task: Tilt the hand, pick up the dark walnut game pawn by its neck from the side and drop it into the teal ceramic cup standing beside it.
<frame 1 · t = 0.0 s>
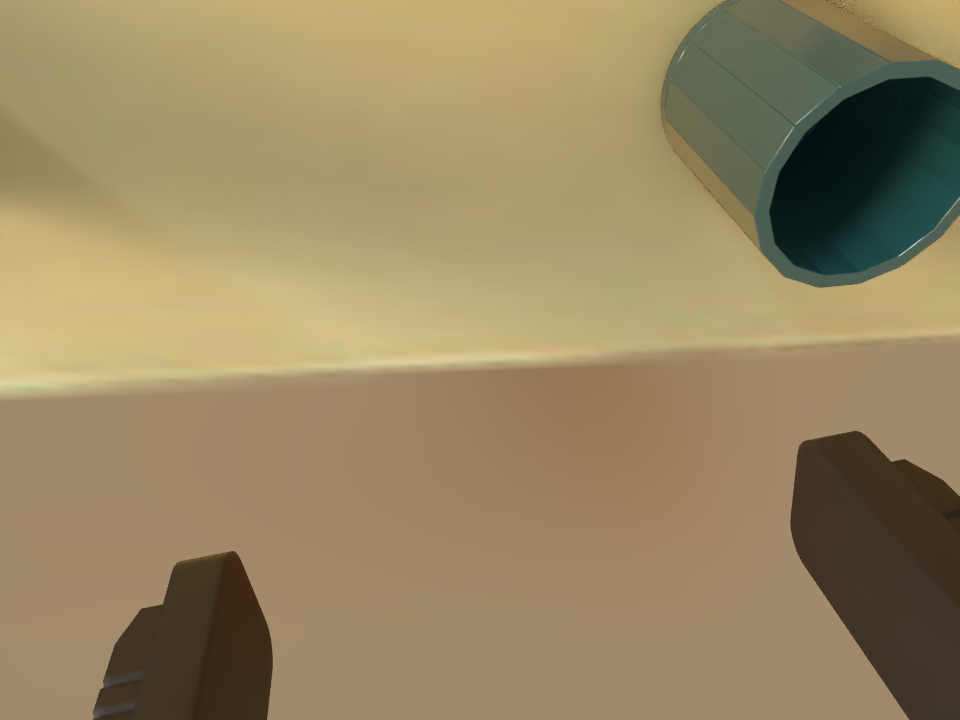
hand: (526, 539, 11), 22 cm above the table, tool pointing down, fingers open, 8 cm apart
cup: (751, 87, 31), on the table
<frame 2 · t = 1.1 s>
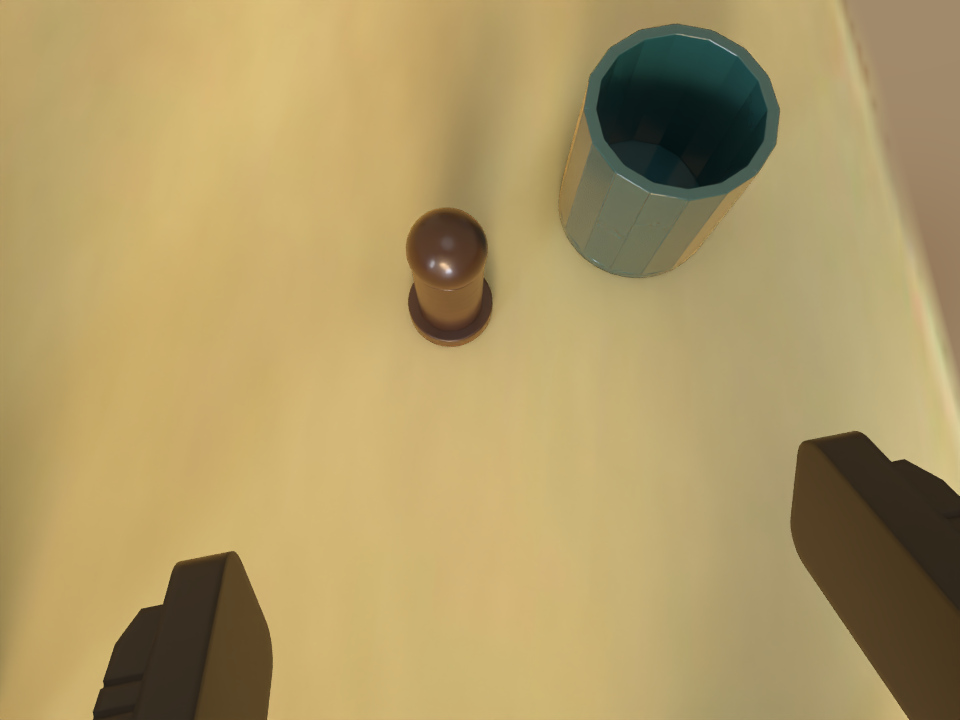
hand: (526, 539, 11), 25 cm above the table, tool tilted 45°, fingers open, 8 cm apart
game pawn: (450, 307, 37), on the table
cup: (633, 206, 39), on the table
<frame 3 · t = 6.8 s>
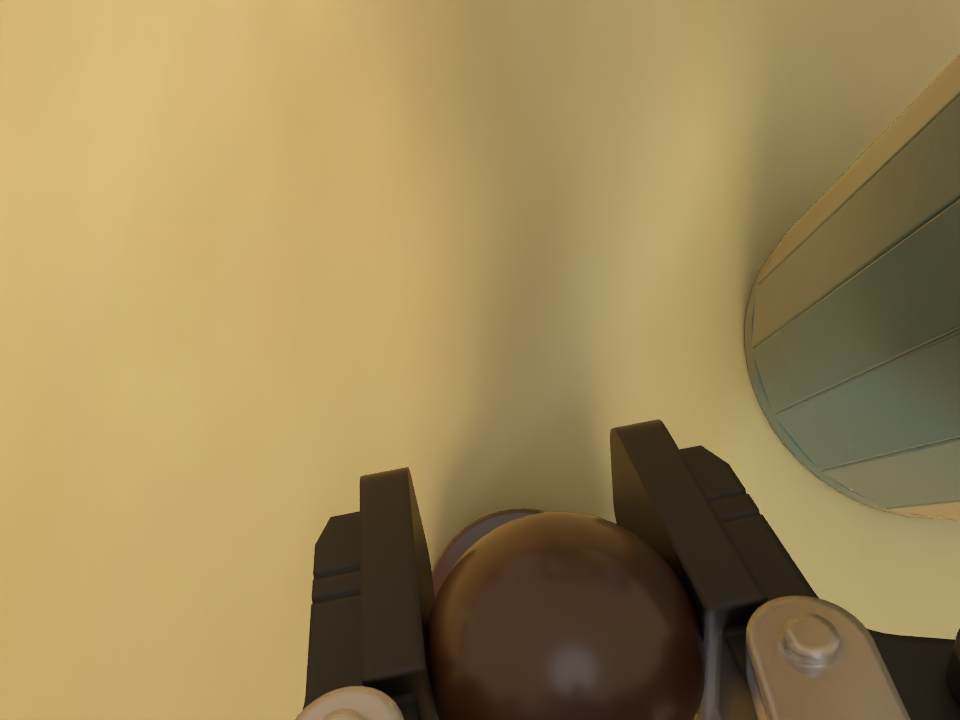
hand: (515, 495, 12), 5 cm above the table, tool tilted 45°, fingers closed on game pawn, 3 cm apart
game pawn: (521, 606, 16), on the table, touching gripper
cup: (908, 350, 18), on the table
when the fingers open (12 cm above the table, at t = 12.9 s): game pawn drops 6 cm, resting on cup.
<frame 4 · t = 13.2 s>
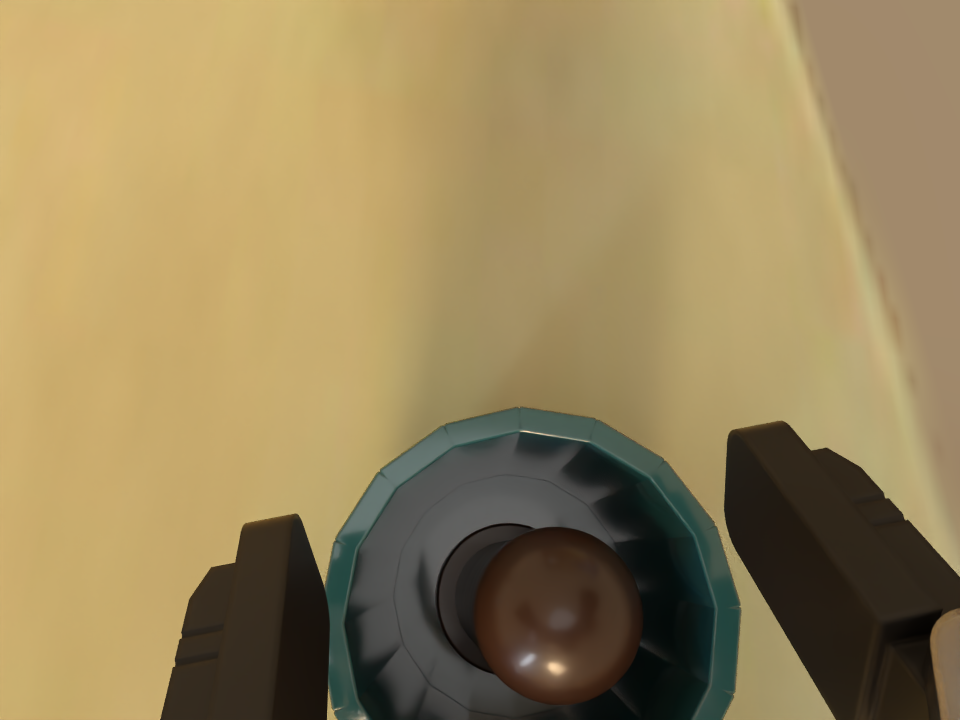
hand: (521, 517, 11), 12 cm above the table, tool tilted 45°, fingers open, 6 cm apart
game pawn: (505, 596, 22), point 1 cm above the table, tilted 5°, touching cup
cup: (509, 590, 23), on the table
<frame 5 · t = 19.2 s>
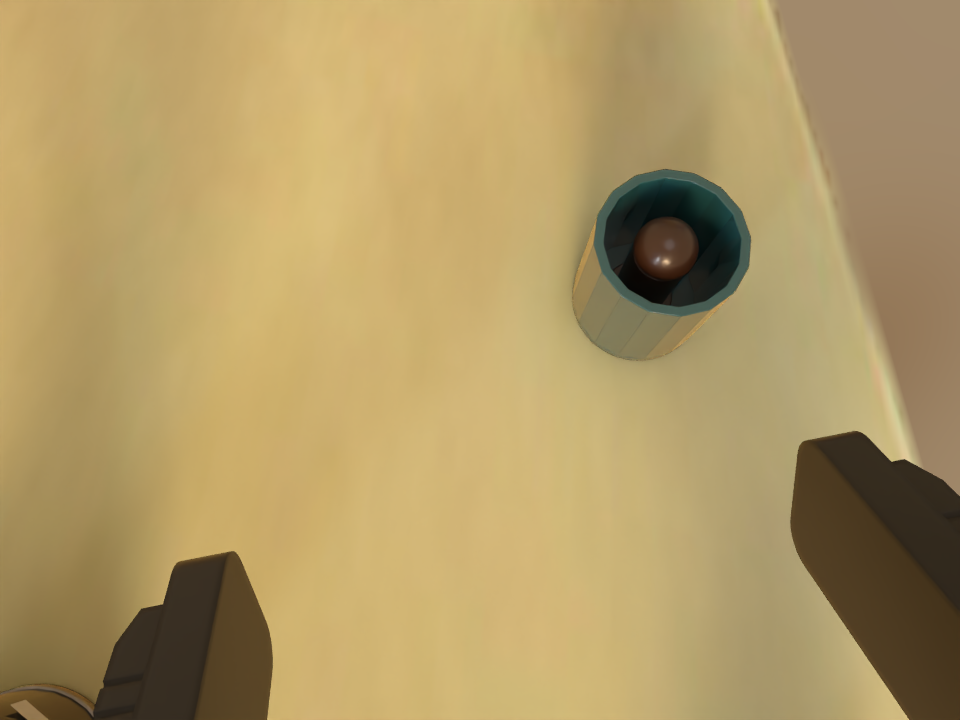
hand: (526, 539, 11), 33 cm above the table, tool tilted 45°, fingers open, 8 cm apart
game pawn: (634, 298, 46), point 1 cm above the table, touching cup
cup: (635, 299, 46), on the table
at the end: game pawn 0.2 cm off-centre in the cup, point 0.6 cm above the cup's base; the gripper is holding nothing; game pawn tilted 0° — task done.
